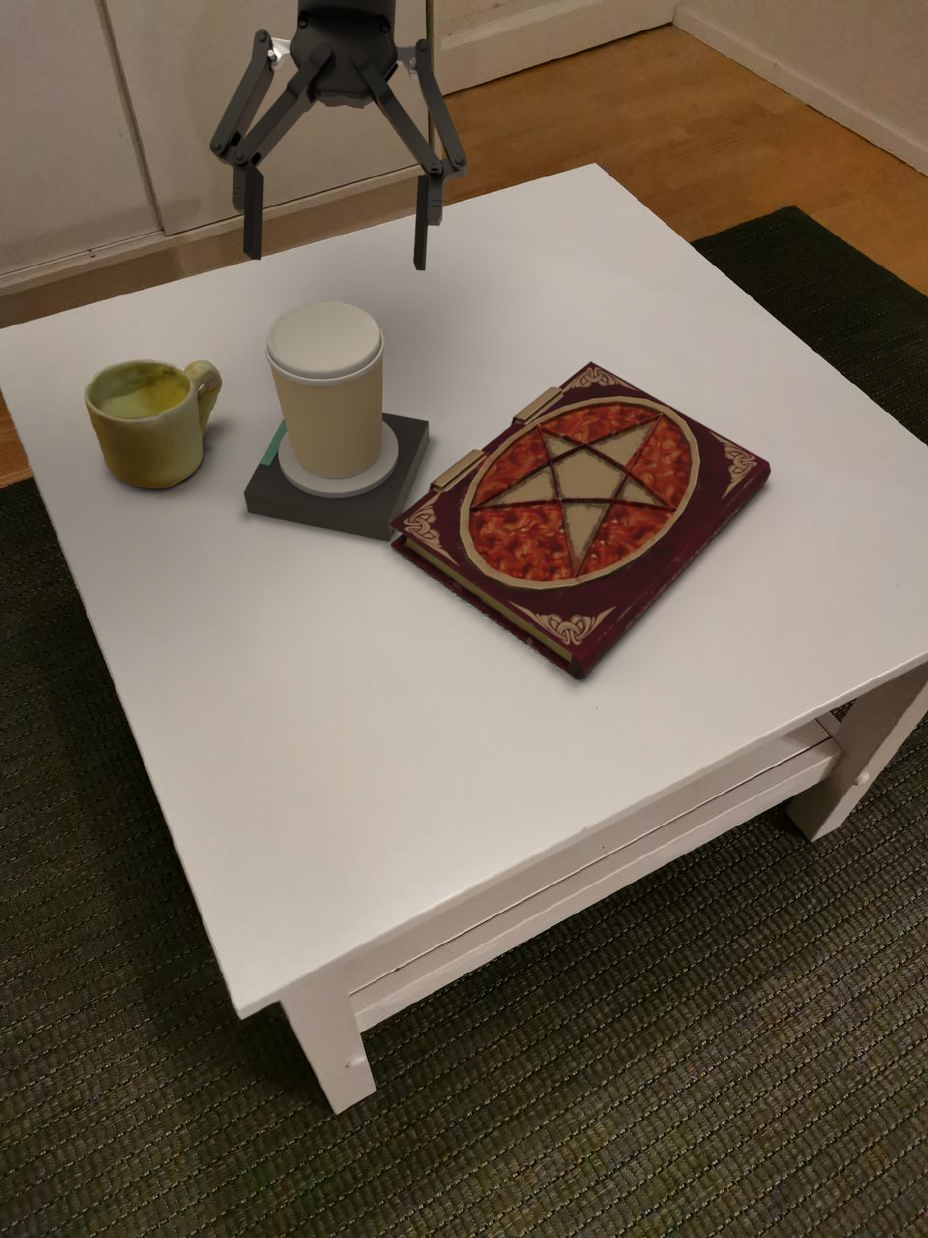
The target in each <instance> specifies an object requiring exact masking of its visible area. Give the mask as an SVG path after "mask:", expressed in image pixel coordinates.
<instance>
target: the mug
mask: <svg viewBox="0 0 928 1238" xmlns="http://www.w3.org/2000/svg"><path fill="white" fill-rule="evenodd" d="M222 386H223V379H222V376H221V373H220V371H219V370H218V369H217V368H216V366H215V365H214V364H213V363H212V362H210V361H209V360H207V359H199V360H194V361H192V362H191V363H189V364H188V365H187V366H186V367H185V369H184V370H182V369H181V368H179V367H177V366H176V365H174V364H173V363H170V362H166V361H162V360H155V359H151V358H138V359H132V360H126V361H122V362H118V363H115V364H111V365H107V366H106V367H104V368H103V369H101V370H99V371H97V372H95V374H94V375H93V377H92V379H91V381H90V382H89V383H88V384H87V385H86V386H85V389H84V391H83V395H84V401H85V406H86V410H87V412H88V416H89V418H90V424H91V426H92V429H93V430H94V432H95V435H96V438H97V440H98V443H99V446H100V450H101V452H102V455H103V458H104V461H105V464H106V467H107V468H108V470H109V472H110V473H111V474H112V475H113V477H114V478H116V480H119V481H120V482H123V483H125V484H127V485H130V486H132V487H137V488H139V487H140V488H146V489H160V490H161V489H168V488H171V487H173V486H175V485H176V484H179V483H181V482H182V481H183V480H185V479H187V478H189V477H190V476H191V475H192V474H194V472H196V471H197V470H198V468H199V467H200V465H201V464H202V461H203V458H204V449H203V448H204V444H203V439H204V436H205V433H206V429H207V424H208V421H209V418H210V413H212V411H213V409H214V408H215V405H216V404H217V401H218V398H219V397H218V396H219V393H220V392H221V391H222V390H221V389H222Z"/></svg>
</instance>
